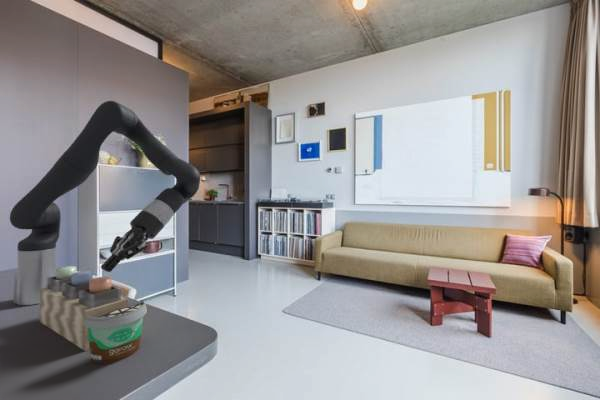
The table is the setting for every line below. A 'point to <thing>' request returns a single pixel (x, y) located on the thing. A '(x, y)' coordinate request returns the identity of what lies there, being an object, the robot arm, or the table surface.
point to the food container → (115, 333)
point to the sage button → (65, 272)
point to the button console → (75, 308)
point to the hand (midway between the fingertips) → (104, 269)
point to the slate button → (81, 278)
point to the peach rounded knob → (99, 285)
